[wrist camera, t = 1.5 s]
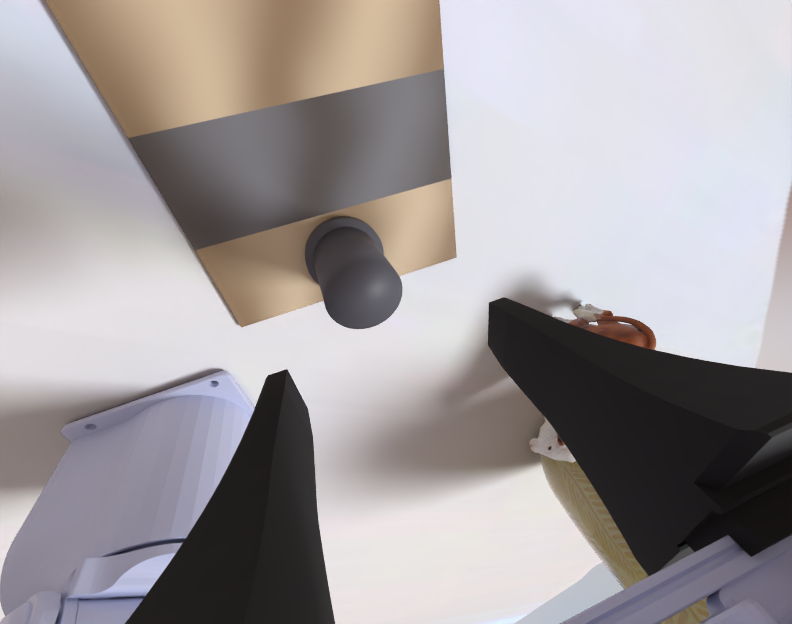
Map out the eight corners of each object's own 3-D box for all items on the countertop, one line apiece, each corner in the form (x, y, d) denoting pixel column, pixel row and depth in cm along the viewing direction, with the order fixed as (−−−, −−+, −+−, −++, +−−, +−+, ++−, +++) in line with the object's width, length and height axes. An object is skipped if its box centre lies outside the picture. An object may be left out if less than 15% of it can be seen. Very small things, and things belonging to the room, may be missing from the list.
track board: (241, 325, 19) (241, 327, 19) (-168, -361, 7) (-178, -371, 7) (455, 256, 21) (456, 257, 21) (412, -353, 9) (414, -361, 9)
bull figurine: (486, 400, 31) (543, 478, 25) (570, 282, 26) (669, 341, 20) (517, 403, 33) (576, 476, 27) (600, 294, 28) (699, 351, 22)
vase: (611, 441, 47) (894, 719, 26) (512, 478, 43) (752, 849, 22) (663, 353, 38) (1177, 679, 16) (542, 389, 33) (1024, 898, 12)
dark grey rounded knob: (319, 297, 19) (332, 347, 15) (292, 228, 17) (299, 268, 13) (387, 275, 20) (416, 318, 16) (372, 206, 17) (402, 236, 13)
